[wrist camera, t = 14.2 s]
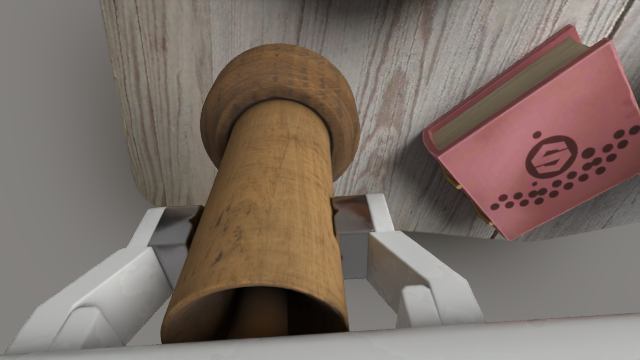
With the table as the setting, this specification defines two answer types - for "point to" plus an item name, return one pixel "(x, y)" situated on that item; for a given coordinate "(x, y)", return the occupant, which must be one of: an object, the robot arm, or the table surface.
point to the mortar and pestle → (269, 202)
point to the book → (542, 135)
